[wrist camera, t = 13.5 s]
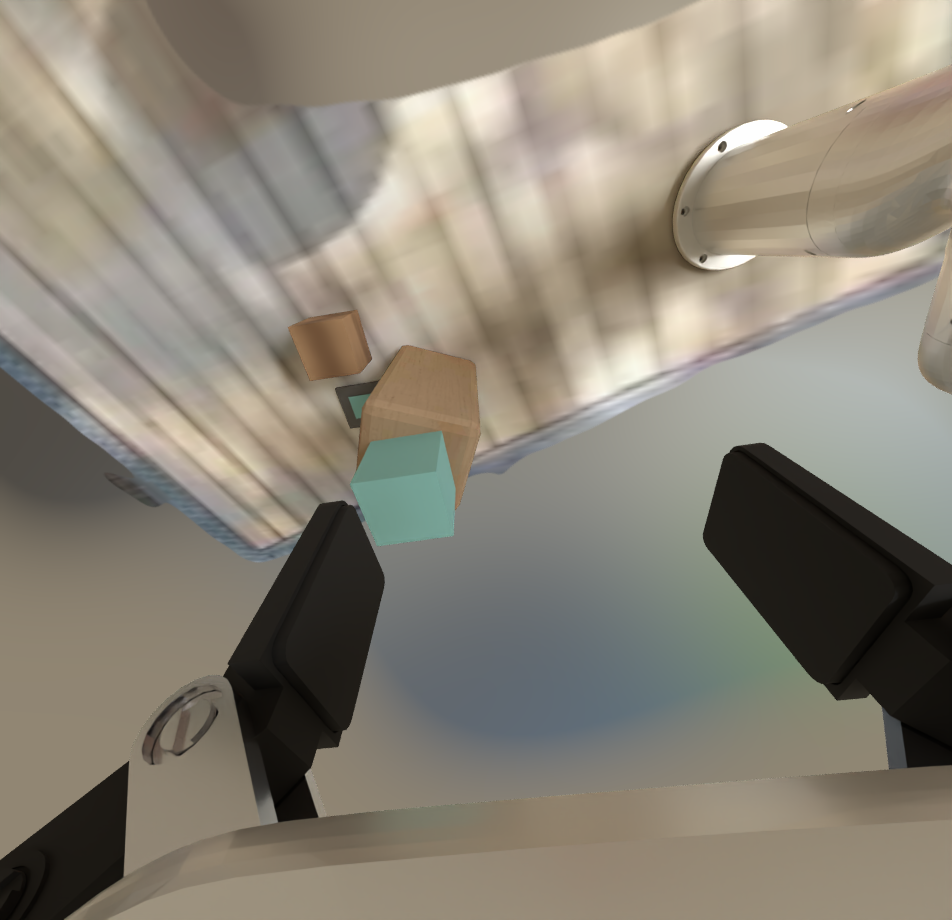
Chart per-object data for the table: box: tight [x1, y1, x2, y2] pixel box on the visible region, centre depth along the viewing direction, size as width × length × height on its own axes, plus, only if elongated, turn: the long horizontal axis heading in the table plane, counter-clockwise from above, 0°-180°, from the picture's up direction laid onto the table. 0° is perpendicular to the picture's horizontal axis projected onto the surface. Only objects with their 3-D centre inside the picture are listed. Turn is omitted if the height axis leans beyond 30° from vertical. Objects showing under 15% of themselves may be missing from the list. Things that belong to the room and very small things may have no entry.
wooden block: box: [356, 345, 481, 510], centre depth 38 cm, size 10×10×20 cm
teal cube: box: [350, 431, 456, 546], centre depth 27 cm, size 6×6×6 cm
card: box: [335, 381, 379, 428], centre depth 48 cm, size 6×6×1 cm
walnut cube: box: [288, 310, 372, 381], centre depth 41 cm, size 6×6×6 cm
